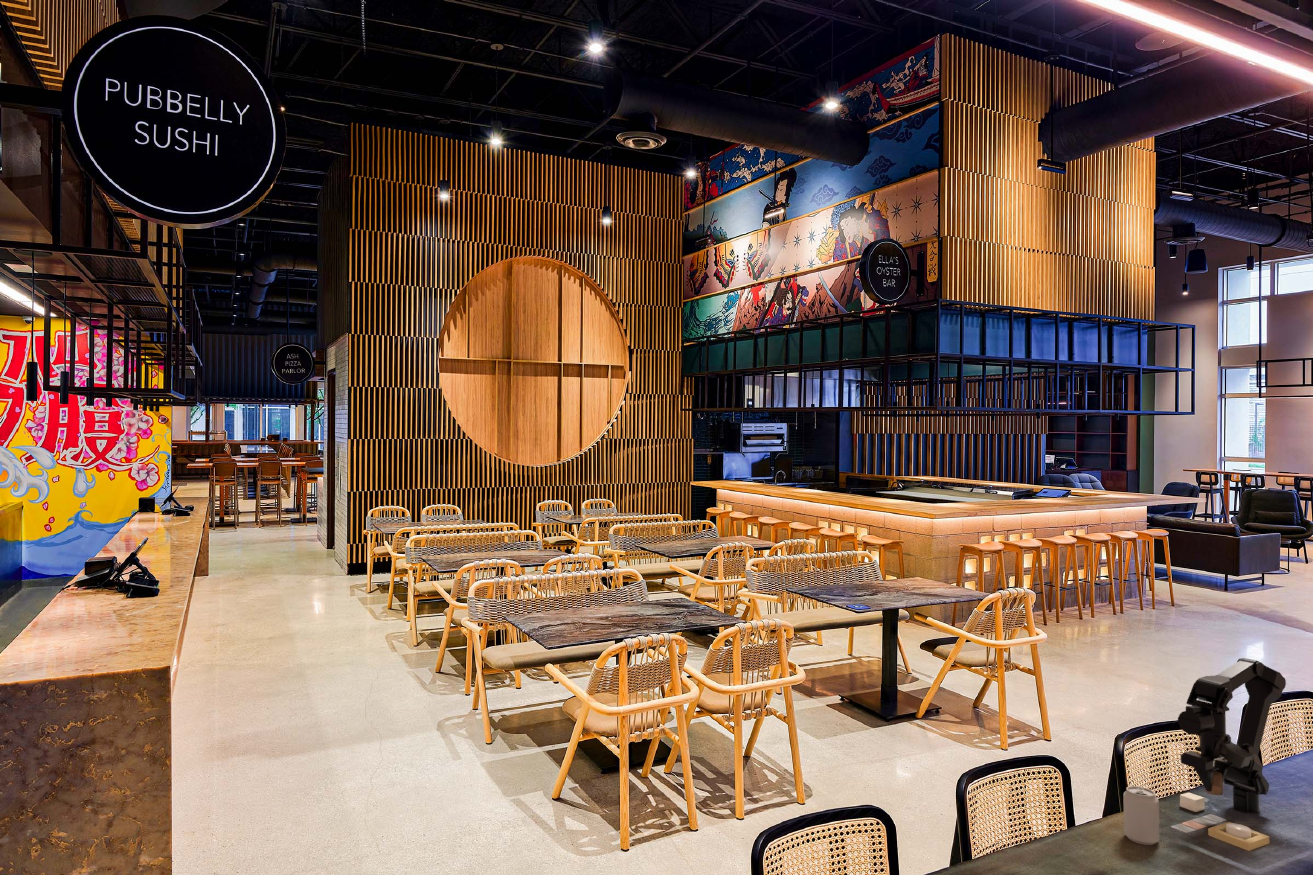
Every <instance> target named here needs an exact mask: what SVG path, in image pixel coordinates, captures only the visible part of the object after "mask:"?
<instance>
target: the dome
mask: <svg viewBox="0 0 1313 875" xmlns="http://www.w3.org/2000/svg"><path fill="white" fill-rule="evenodd" d="M1226 823H1227V822H1226ZM1251 830H1252V829H1251V828H1250V827H1248V826H1246V825H1243V824H1240V823H1234V822H1231V823H1227V824H1226V833H1228V834H1231V835H1233V836H1236V837H1239V838H1241V839H1244V840H1246V839H1249V838H1251Z"/></svg>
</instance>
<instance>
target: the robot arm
mask: <svg viewBox="0 0 1313 875" xmlns="http://www.w3.org/2000/svg"><path fill="white" fill-rule="evenodd" d="M1242 685H1244V687H1245V689H1246V691H1247V694H1248V700H1247V704H1246V708H1245V712H1244V714H1243V719H1242V723H1241V727H1240V730H1239V735H1238V739H1237V742H1236V743H1234V742H1232V738H1231V736H1230V734H1229V733H1228V734H1227V726H1226V725H1227V724H1226V722H1227V721H1226V718H1227V717H1226V712H1229V711H1230V707H1229V706H1227V705H1228V704H1229V702H1230V701H1231V700H1232V699H1233V698H1234V696H1233V692H1234V691H1236V690H1237V689H1238V688H1241V686H1242ZM1286 685H1287V681H1286V678H1285V676H1283V675H1282V673H1281V672H1280V671H1277V670H1275V669H1273V668H1271V667H1269V666H1266V665H1265V664H1264V663H1263V662H1260V661H1259V660H1255V659H1250V658H1247V657H1246V658H1245V657H1239V658H1238V659H1237V661H1236V662H1235V663H1234V664H1232V665H1231V666H1229V667H1227V668H1226V669H1225V670H1223V671H1221V672H1220V673H1218V674H1217V675H1205V676H1201V677H1198V678H1197V679H1196V680H1195V682H1194V683H1193V685H1192V687H1191V690H1190V692H1189V694H1188V698H1187V700H1186V704H1187V705H1186V706H1185V710H1184V711H1181V712H1180V713H1179V714H1178V716H1177V724H1178V725H1179V727H1180V729H1181V730H1182V731H1183V732H1184V733H1186V734H1188V735H1196V736H1199V739H1198V740H1199V745H1196V746H1195V751H1194V750H1190V751H1185V752H1183V753H1181V754H1180V756H1179V758H1180V764H1183V765H1185V766H1190V767H1191V768H1193V769H1194V771H1195V772H1196V774H1197V775H1198V778H1199V780H1200V781H1201V784H1202V785H1203V788H1204V787H1205V789H1206V791H1209V792H1211V789H1212V783H1213V773H1214V772H1215V771H1218V772H1220V773H1222V783H1223V784H1224V785H1228V786H1231V787H1232V809H1233V810H1235V811H1238V812H1240V813H1243V814H1244V813H1245V814H1247V813H1251V814H1252V813H1253V814H1258V813H1260V810H1261V809H1260V808H1261V806H1260V795H1263V796H1264V795H1265V796H1267V795H1268V793H1269V790H1270V783H1269V782H1268V780H1267V779H1266V777H1265V776H1264V775H1263V768H1264V767H1263V764H1262V762H1261V760H1260V758H1259V752H1260V748H1261V745H1262V740H1263V737H1264V732H1265V728H1266V725H1267V721H1268V718H1269V713H1270V709H1271V705H1272V704H1273V703H1275V702H1276V701H1277V700H1279V699H1280V698H1281V696H1282V694H1283V692H1284V690H1285V688H1286ZM1196 751H1197V752H1196Z"/></svg>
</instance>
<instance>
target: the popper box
mask: <svg viewBox="0 0 1313 875" xmlns="http://www.w3.org/2000/svg"><path fill="white" fill-rule="evenodd" d="M1227 823H1232V822H1231V821H1227V822H1223V823H1222V824H1221V823H1220V824H1218V825H1217V824H1216V825H1214V826H1212V827H1209V828H1207V832H1208V833H1207V835H1208V836H1209V837H1211V838H1214V839H1216V840H1219V841H1222V842H1224V843H1227V844H1230V845H1232V846H1235V847H1238V848H1241V849H1243V850H1244V851H1245V850H1246V851H1249V852H1250V851H1252V850H1254V849H1258V848H1260V847H1263V846H1265V845H1268V844H1270V836H1269V835H1266V834H1264V833H1261V832H1259V831H1255V830H1253V829H1251V838H1249V839H1246V840H1244V839H1241V838H1239V837H1236V836H1233V835H1231V834H1228V833H1226V824H1227Z"/></svg>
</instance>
